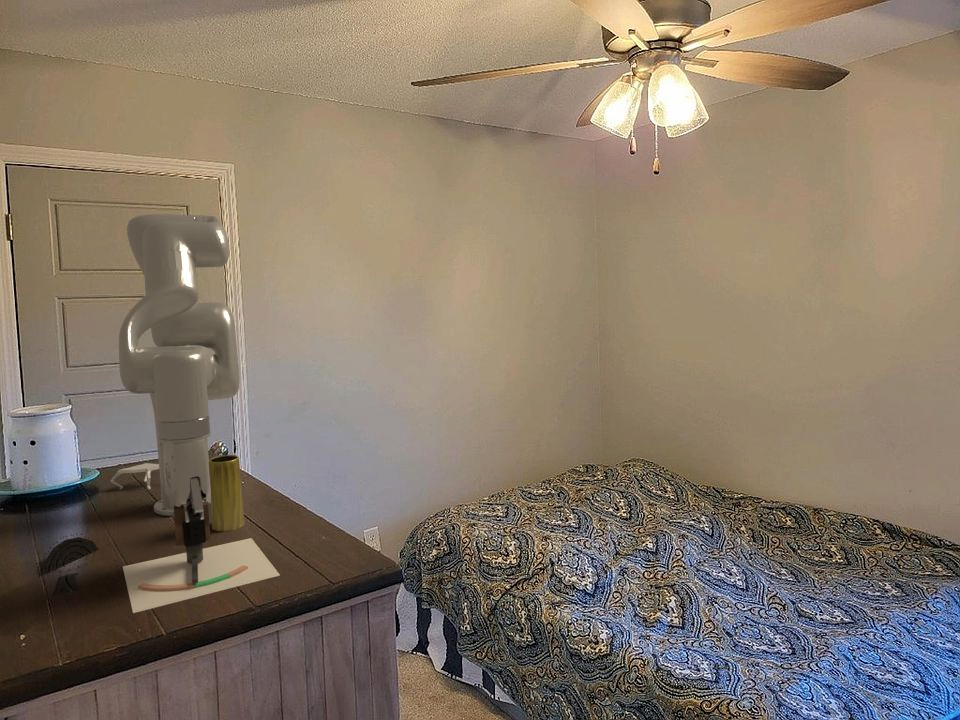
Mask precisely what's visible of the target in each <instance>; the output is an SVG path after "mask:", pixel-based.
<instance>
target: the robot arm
mask: <svg viewBox="0 0 960 720" xmlns="http://www.w3.org/2000/svg"><path fill="white" fill-rule="evenodd" d="M126 232H127V233H126V235H127V239H128V240H127V241H128V244H129V247H130V249H131V252H132V254H133V257H134V259H135V261H136V263H137V265H138V266H139V269H140V270H141V273H142V274H143V277H144V289H145V295H144V296H143V297H142V298H141V299H140V300H138V302H137V303H136V304H134V305H133V307H132V308H131V309H130V310H129V312H128V313H127V315H126V316H125V317H124V320H123V321H122V323H121V327H120V329H119V333H118V363H119V364H118V365H119V377H120V382H121V383H122V385H123V387H124V388H125V390H126V391H128V392H129V393H132V394H137V395H141V394H142V395H145V394H149V396H150V399H151V403H152V410H153V416H154V424H155V425H154V426H155V436H156V445H157V446H156V447H157V459H158V464H159V469H158V470H159V482H160V492H161V493H160V495H161V496H160V497H161V499H159V500H158V501H156V502H155V503H154V504H153V511H154V513H156V514H158V515H160V516H167V517H168V516H169V517H172V516H173V517H174V506H178V507H180V506H181V505H183V513H184V522H182V527H183V539H184V545H183V546H184V547H185V548H186V547H189V546H193V545H197V544H201V543H202V544H205V543H206V542H207V541H206V533H205V519H204V510H203V502H205V501H208V504H211V488H210V476H209V459H210V457H209V456H210V455H209V445H208V438H209V437H210V436H211V427H210V412H209V411H210V410H209V401H213V400H222V399H223V400H224V399H229V398H233V397H234V396H236V395H237V394H238V392H239V390H240V369H239V368H240V366H239V357H238V346H237V335H236V334H237V333H236V326H235V319H234V315H233V313H232V310H231V309H230V308H229V306H228V305H226V304H224V303H222V302H198V299H199V296H200V293H199V285H198V276H197V275H198V274H197V268H221V267H225V265H226V264H227V263H228V260H229V256H230V243H229V237H228V234H227V231H226V229H225V227H224V225H223V224H222V222H221V220H220V219H219V218H218V217H217V216H213V215H203V214H202V215H201V214H200V215H197V214H194V215H193V214H192V215H191V214H166V213H163V214H162V213H159V214H157V213H152V214H142V215H137V216H135V217H133V218H131V219H130V220H129V221H128V223H127V226H126ZM149 329H150V332H151V337H152V340H153V343H154V345H155V346H150V347H149V346H148V347H138V343H139V340H140V338H141V337H142V335H143V334H144V333H146V332H147V331H148V330H149ZM210 349H211V350H212V351H213V352H214V354H213V353H211V351H210ZM190 506H192V508H189V510H188V507H190Z"/></svg>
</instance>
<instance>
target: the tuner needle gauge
mask: <svg viewBox="0 0 960 720" xmlns="http://www.w3.org/2000/svg"><path fill="white" fill-rule="evenodd" d="M189 508H192V506H190V507H188V510H189ZM203 510H204V519H205V533H206V542H208V541H209V542H210V541H211V528H210V527H211V525H210V515H209V514H210V513H209V503H208V501H205V502H203ZM173 518H174V530H175V531H174V532H175V542H176V543H175V545H176V547H177V546H185V545H184V539H183V527H182V522H184V513H183V505H181V506H180V507H178V506H174V515H173ZM203 549H204V548H203V543H201V544H197V545H193V546H189V547H185V553H186V554H187V562H188V563H192V584H194V583H198V562H200V561H202V560H203Z"/></svg>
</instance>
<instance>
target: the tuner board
mask: <svg viewBox="0 0 960 720" xmlns="http://www.w3.org/2000/svg"><path fill="white" fill-rule="evenodd" d="M202 549H203V560H202V561H200V562H198V583H194V584H192V563H188V562H187V554H186V552H182V553H178V554H173V555H168V556H165V557H159V558H156V559H150V560H146V561H142V562H136V563H133V564H129V565H123V566H122V570H123V573H124V578H125V583H126V587H127V592H128V596H129V602H130V606H131V611H132V613H133V614H136V613H140V612H144V611H148V610H152V609H155V608H160V607H164V606H167V605H172V604H175V603H179V602H182V601H186V600H190V599H195V598H198V597H203V596H206V595H210V594H214V593H218V592H221V591H226V590H229V589H234V588H237V587H241V586H245V585H249V584H253V583H257V582H260V581H264V580H268V579H272V578H276V577H280V576H281V575H280V572H278V569H276V567H275V566H273V564H272V562H270V560H269V559H268V557H266V555H265V553H263V551H262V550H261V548H260V547H259V546H258V545H257V544H256V542H255V541H254V539H253V538H252V537H251V538H245V539H241V540H235V541H231V542H227V543H223V544H218V545H213V546H209V547H204V548H202Z"/></svg>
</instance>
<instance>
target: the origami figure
mask: <svg viewBox="0 0 960 720" xmlns="http://www.w3.org/2000/svg"><path fill="white" fill-rule="evenodd" d="M155 470H159V463H148V462H145V463H142V464H138V465H133V466H130V467H125V468H121V469H118V470H117V472H116V473H115V474H114V476H112V478H111V479H110V482H111V483H112V484H114V485H116V486H117V487H119V489H118V490H120V491H122V490H123V488H124V486H123V485H121V484H119V483H118V482H116V481H115V480H116V479H117V478H118V477H119V476H121V475H122V474H135V473H145V476H144V479H143V482H144V483H146V488H147V490H152V487H151V479H152V478H151V477H152V476H151V472H153V471H155Z"/></svg>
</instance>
